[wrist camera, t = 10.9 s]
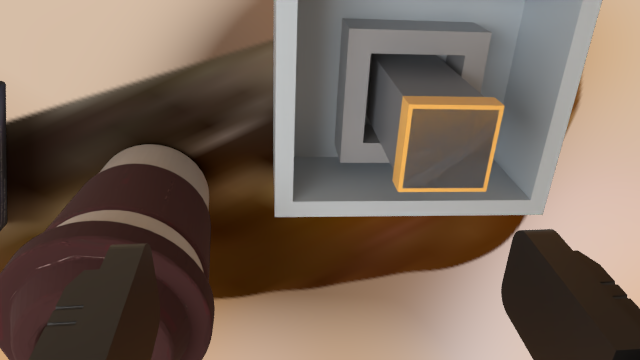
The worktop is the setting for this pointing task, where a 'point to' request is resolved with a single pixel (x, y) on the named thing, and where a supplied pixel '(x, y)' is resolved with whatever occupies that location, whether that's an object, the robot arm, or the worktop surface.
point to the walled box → (459, 54)
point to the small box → (3, 157)
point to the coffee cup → (113, 229)
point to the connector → (432, 124)
